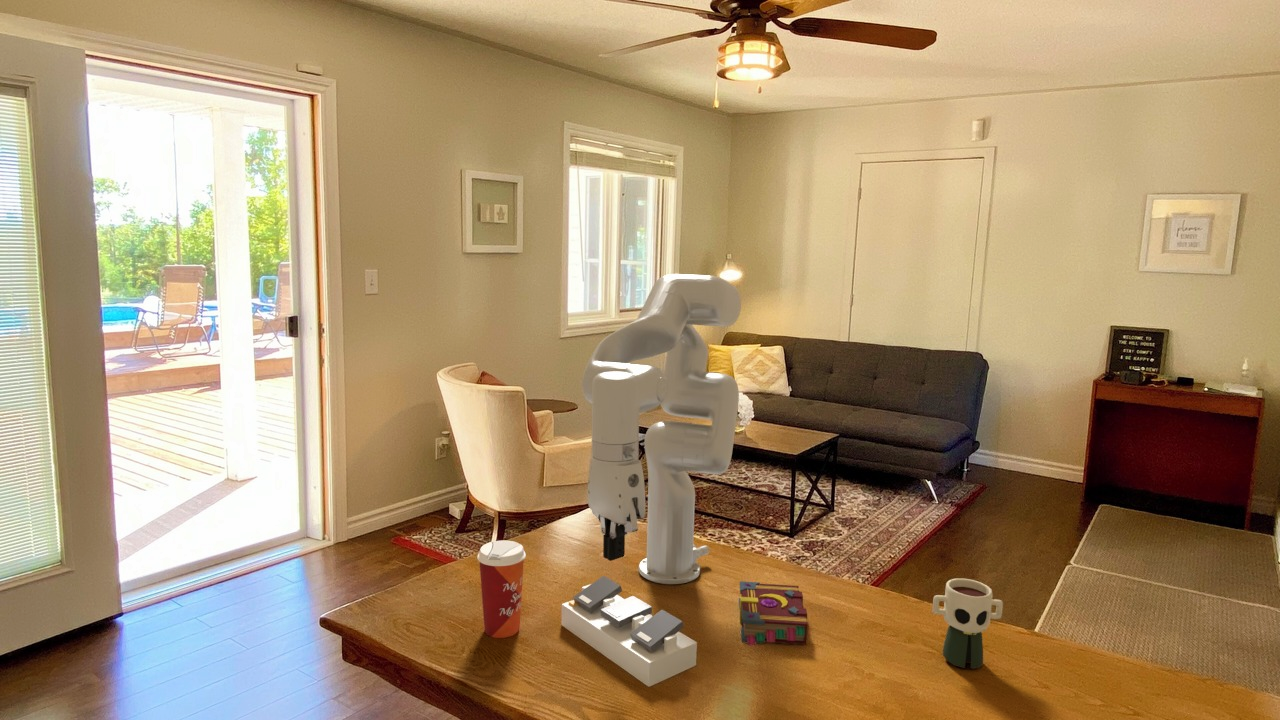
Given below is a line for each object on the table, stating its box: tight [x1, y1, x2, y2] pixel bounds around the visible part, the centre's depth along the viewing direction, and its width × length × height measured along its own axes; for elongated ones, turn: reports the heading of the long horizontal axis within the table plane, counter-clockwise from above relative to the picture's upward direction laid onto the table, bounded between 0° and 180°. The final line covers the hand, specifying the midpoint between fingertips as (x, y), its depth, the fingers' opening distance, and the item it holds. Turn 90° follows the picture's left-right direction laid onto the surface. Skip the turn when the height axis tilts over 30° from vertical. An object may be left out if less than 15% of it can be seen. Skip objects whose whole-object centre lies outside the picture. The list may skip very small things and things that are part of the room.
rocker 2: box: [630, 609, 685, 653], centre depth 125 cm, size 7×5×2 cm
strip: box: [560, 583, 698, 688], centre depth 133 cm, size 10×27×6 cm, turn 40°
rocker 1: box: [572, 575, 623, 613], centre depth 137 cm, size 7×5×2 cm
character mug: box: [932, 578, 1004, 669], centre depth 128 cm, size 11×7×13 cm, turn 83°
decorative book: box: [738, 580, 808, 646], centre depth 140 cm, size 11×16×5 cm
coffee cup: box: [476, 539, 527, 639], centre depth 135 cm, size 8×8×15 cm
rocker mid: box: [601, 595, 653, 628], centre depth 131 cm, size 7×5×2 cm
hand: (613, 557), depth 128 cm, fingers closed
